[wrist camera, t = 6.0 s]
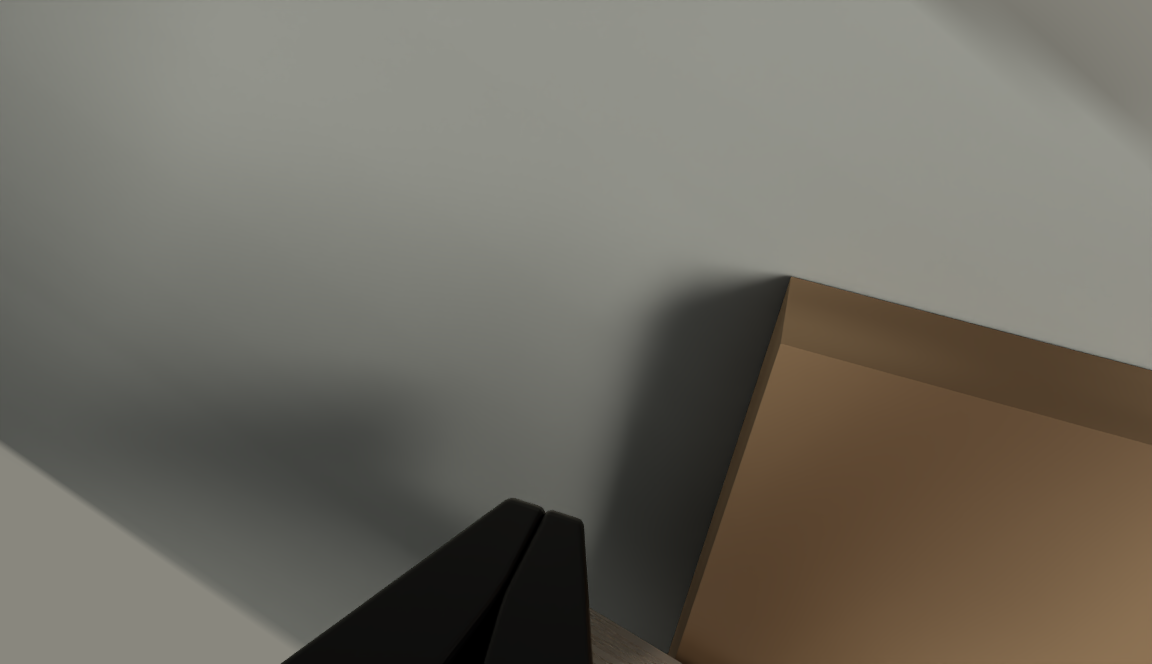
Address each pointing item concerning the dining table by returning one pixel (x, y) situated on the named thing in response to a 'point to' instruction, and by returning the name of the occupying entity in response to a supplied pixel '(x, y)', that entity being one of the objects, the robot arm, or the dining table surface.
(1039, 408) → the copper base
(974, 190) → the dining table surface
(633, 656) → the steel lever handle
